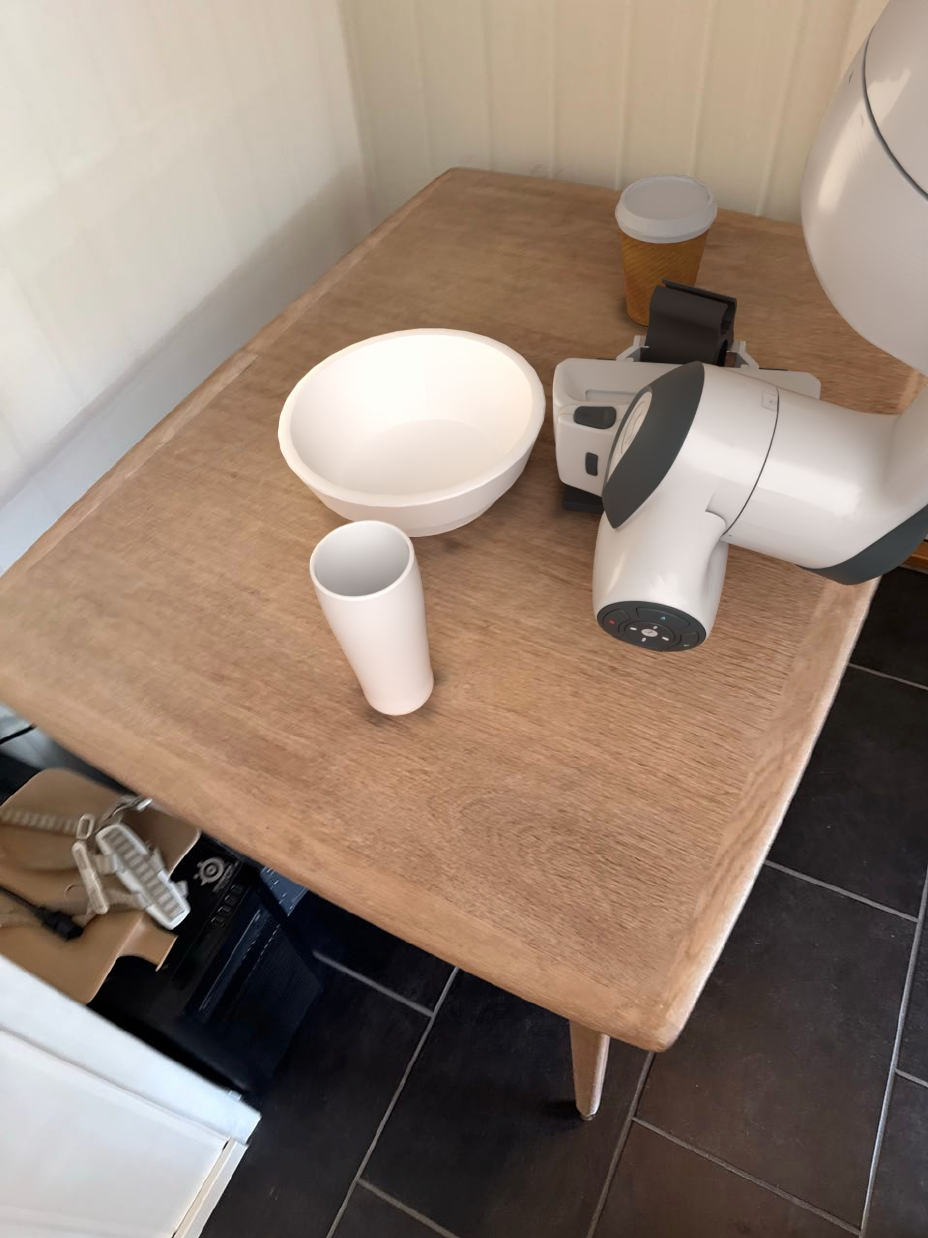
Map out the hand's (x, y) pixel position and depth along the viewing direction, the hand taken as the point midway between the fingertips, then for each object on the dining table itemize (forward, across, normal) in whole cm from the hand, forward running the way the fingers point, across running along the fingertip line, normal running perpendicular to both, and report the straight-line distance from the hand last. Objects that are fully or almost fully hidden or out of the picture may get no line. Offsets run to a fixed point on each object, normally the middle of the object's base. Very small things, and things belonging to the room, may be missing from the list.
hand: (688, 344), depth 72 cm
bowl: (-9, +22, +10) cm, 26 cm away
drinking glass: (-31, +18, +9) cm, 37 cm away
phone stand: (-1, 0, +7) cm, 7 cm away
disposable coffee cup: (+19, +4, +10) cm, 22 cm away
